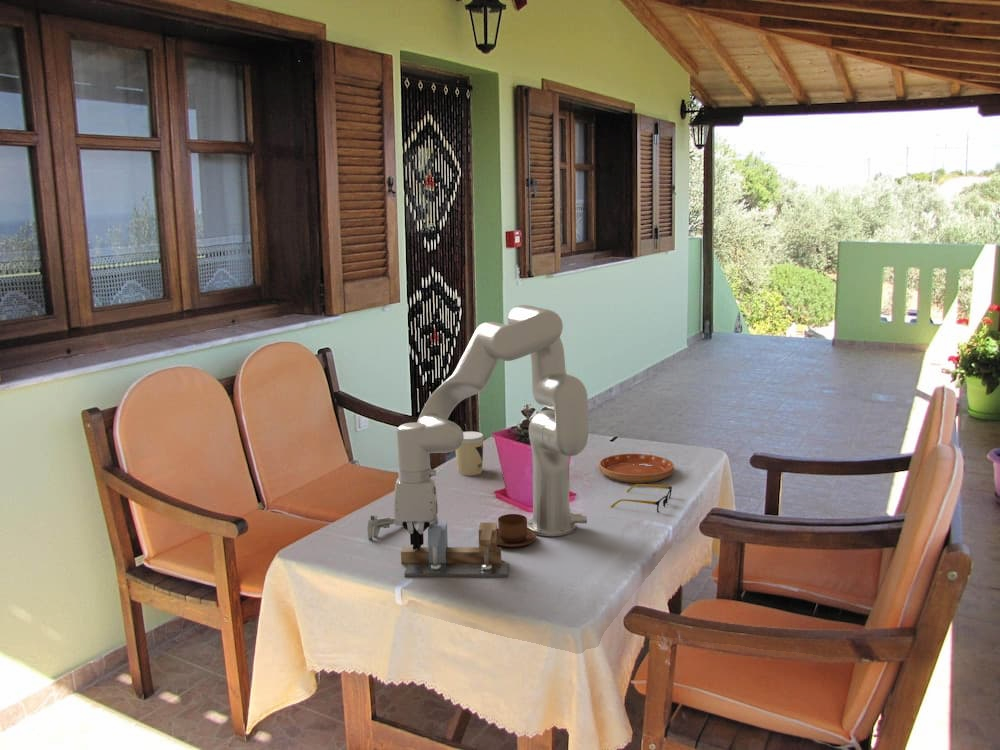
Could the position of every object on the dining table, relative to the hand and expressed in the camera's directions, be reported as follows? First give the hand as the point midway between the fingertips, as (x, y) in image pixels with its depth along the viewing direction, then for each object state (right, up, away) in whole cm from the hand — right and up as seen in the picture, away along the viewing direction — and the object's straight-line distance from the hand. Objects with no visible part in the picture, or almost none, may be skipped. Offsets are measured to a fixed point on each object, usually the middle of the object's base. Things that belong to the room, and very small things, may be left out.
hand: (417, 547), depth 224 cm
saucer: (+62, +11, +63) cm, 90 cm away
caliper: (-7, +1, +23) cm, 24 cm away
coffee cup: (+10, +11, +69) cm, 70 cm away
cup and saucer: (+23, -1, +12) cm, 26 cm away
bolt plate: (+10, -5, -6) cm, 12 cm away
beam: (+8, -4, -3) cm, 9 cm away
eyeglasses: (+60, +5, +38) cm, 72 cm away
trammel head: (+5, -4, -3) cm, 7 cm away
